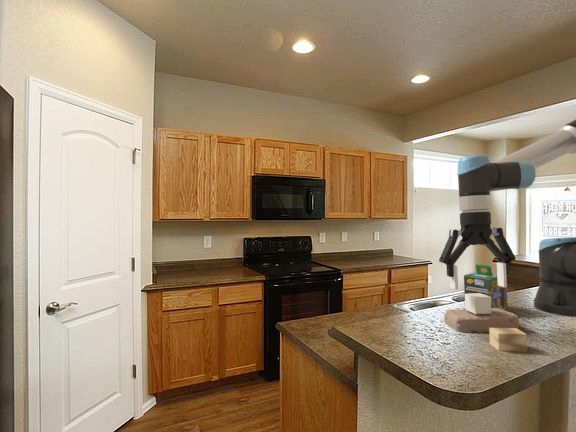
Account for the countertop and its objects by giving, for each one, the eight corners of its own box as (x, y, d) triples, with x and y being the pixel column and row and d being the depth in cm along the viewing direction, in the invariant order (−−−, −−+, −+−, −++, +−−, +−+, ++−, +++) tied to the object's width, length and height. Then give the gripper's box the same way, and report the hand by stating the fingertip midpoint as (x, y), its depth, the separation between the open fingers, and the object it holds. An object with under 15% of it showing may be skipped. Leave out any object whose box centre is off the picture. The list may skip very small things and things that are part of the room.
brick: (457, 334, 85) (457, 316, 85) (442, 323, 93) (442, 307, 93) (520, 333, 85) (520, 316, 85) (500, 323, 93) (500, 307, 93)
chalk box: (508, 311, 103) (507, 265, 103) (492, 315, 99) (491, 267, 99) (479, 304, 111) (478, 261, 111) (463, 308, 107) (462, 264, 107)
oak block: (516, 345, 76) (516, 328, 76) (527, 352, 72) (526, 334, 72) (489, 344, 77) (489, 327, 77) (498, 351, 73) (498, 333, 73)
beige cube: (480, 308, 92) (479, 293, 92) (491, 313, 87) (490, 296, 87) (465, 309, 92) (464, 293, 92) (475, 314, 87) (475, 297, 87)
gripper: (509, 210, 94) (512, 282, 94) (424, 213, 94) (427, 286, 93) (528, 209, 87) (532, 288, 86) (437, 212, 86) (440, 292, 86)
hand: (478, 287), depth 90 cm, fingers open, 13 cm apart
